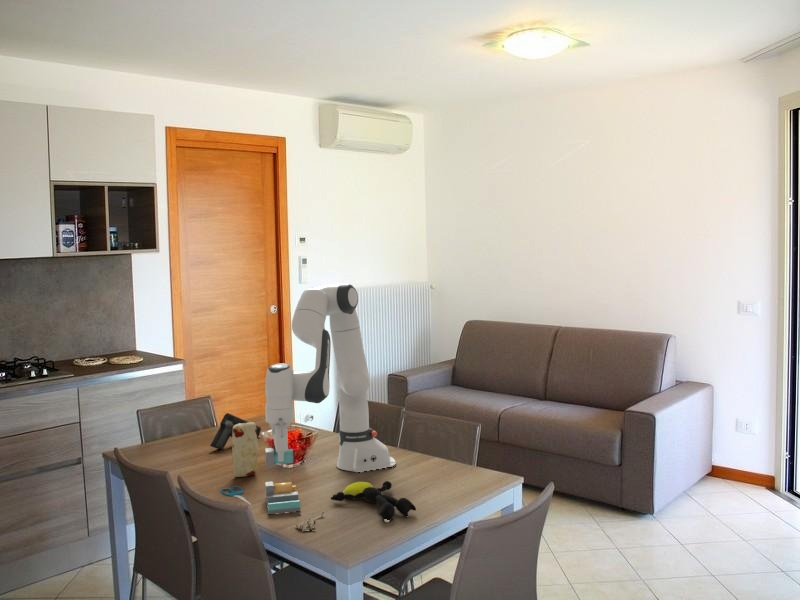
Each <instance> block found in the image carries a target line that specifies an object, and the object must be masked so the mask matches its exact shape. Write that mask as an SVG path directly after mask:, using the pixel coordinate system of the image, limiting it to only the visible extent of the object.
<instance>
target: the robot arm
mask: <svg viewBox="0 0 800 600" xmlns="http://www.w3.org/2000/svg"><path fill="white" fill-rule="evenodd" d="M358 302H359V294H358V292H357V289H356V288H355V287H354V286H353V285H352V284H350V283H340V284H338V283H334V284H326V285H321V286H317V287H309V288H307V289H305V290H304V291H303V292H302V293H301V295H300V297H299V300H298V302H297V304H296V307H295V310H294V313H293V317H292V319H291V330H292V332H293V334H294V335H295V337H296V338H297V339H298V340H300V341H301V342H302V343H305V344H306V345H308V346H312V347H313V348H314V349H316V350H315V351H316V352H315V366H314V369H313V370H310V371H303V370H300V371H299V370H293V369H292V366H291V365H290V364H288V363H284V362H282V363H275V364H271V365H270V366H269V367H268V368H267V370H266V373H265V374H266V375H265V387H264V389H265V390H264V391H265V392H264V393H265V398H266V402H265V405H264V406H265V407H264V408H265V422H266V423H268V424H269V428H271V434H272V438H273V443H274V449H275V450H276V452H277V453H278V461H279V462H283V461H284V452H287V451H288V449H289V439H288V438H289V436H288V428H289V427H290V426H291V425H290V424H291V423H292V422H294V419H295V417H294V413H295V411H294V410H295V409H294V408H295V407H294V406H295V405H294V401H298V402H307V403H312V404H313V403H314V404H320V403H322V402H323V401H324V400H325V399H327V398H328V396H329V394H330V367H331V366H330V365H331V343H332V346H333V353H334V357H335V362H336V368H337V377H336V379H337V381H336V382H337V394H338V396H337V397H338V407H339V410H338V411H339V429H338V444H339V451H338V458H337V463H336V467H337V468H338V469H340V470H342V471H349V472H353V473H358V472H360V473H365V472H364V471H367V472H371V471H370V470H373V471H377V470H376V469H379V470H383V469H382V468H385V469H387V468H386V467H391V466H394V465H395V464H396V460H395V459H394V457H392V456H390V452H389V449H388V447H387V446H386V445H385V444H384V443H383V442H381V441H380V440H378V439H377V438H375V437H377V436H378V432H377V431H376V430H374V429H373V428H371V427H370V422H369V421H370V420H369V418H370V417H369V414H370V413H369V404H368V403H369V402H368V393H367V392H368V390H369V387H370V385H371V382H370V381H371V379H370V375H369V374H370V373H369V369H368V365H367V360H366V356H365V355H366V354H365V350H364V345H363V339H362V331H361V327H360V321H359V317H358V312H357V309H356V308H357V306H358ZM328 316H329V326H330V327H329V329H330V332H329V331H328V330H327V329H326V328H325V327H326V326H325V325H326V323H325V322H326V320H327V317H328ZM330 334H331V336H330ZM331 340H332V342H331ZM395 466H396V465H395ZM395 466H394V467H395Z"/></svg>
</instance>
